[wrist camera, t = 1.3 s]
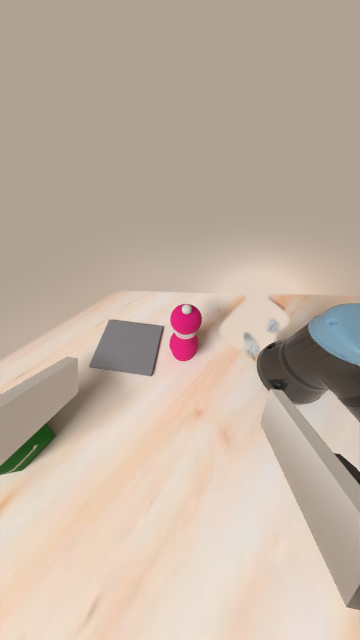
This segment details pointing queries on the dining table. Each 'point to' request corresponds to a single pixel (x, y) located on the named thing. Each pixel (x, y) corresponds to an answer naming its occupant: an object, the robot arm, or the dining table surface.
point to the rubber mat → (128, 348)
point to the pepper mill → (185, 331)
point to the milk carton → (27, 451)
